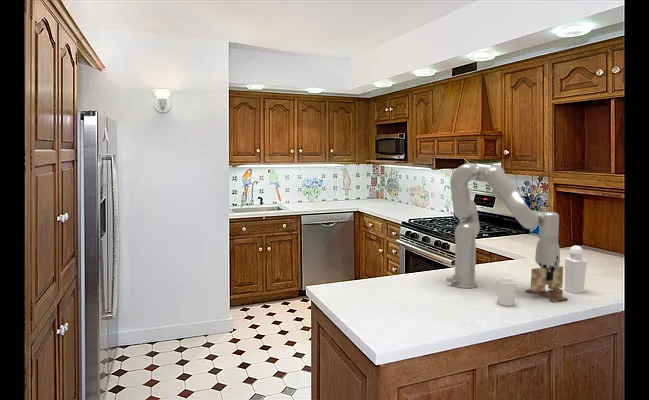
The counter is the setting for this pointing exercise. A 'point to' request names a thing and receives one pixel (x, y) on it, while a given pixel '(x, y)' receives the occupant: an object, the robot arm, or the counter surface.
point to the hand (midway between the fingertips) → (547, 279)
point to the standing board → (551, 294)
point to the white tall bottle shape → (575, 270)
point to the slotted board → (545, 279)
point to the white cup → (506, 291)
